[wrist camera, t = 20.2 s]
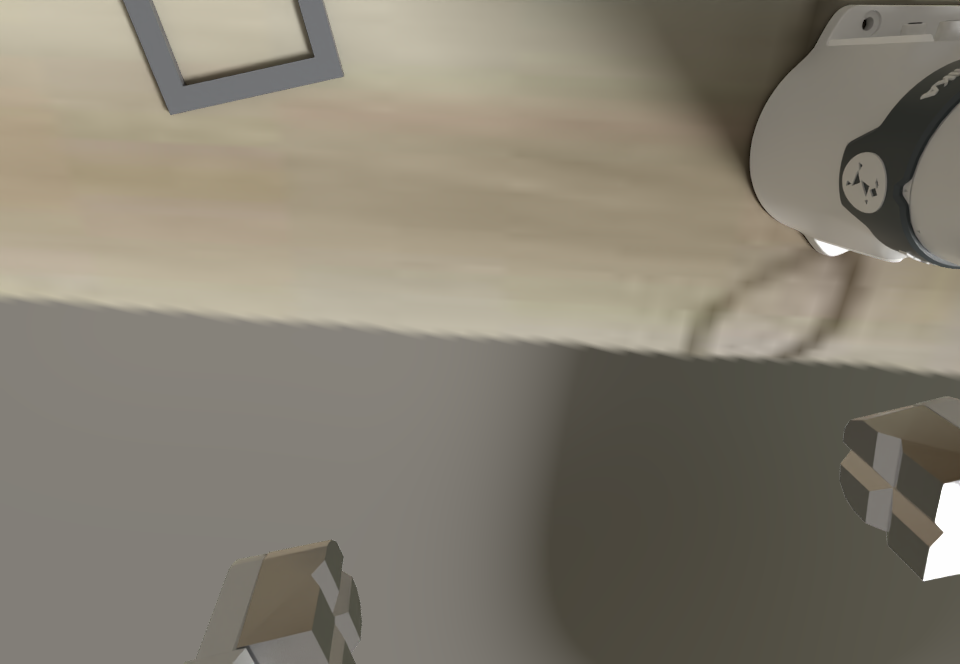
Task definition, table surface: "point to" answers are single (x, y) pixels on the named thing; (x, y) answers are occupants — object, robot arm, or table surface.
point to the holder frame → (240, 84)
